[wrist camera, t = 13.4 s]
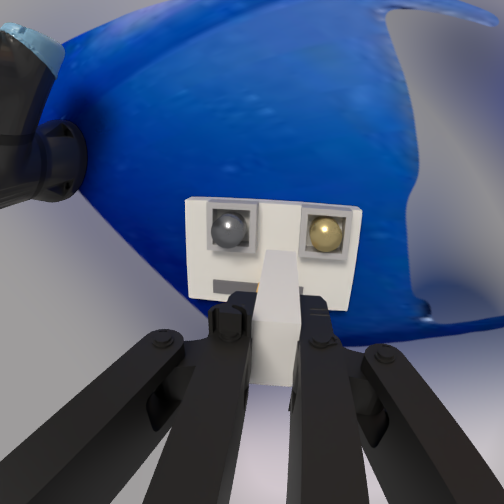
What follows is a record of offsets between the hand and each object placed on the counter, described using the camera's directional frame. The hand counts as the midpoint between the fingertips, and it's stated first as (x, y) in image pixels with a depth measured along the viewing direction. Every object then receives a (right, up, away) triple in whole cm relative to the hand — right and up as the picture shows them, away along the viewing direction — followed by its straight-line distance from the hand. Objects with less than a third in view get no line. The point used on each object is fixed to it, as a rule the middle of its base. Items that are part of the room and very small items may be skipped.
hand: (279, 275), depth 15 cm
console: (+1, +1, +29) cm, 29 cm away
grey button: (-4, +4, +24) cm, 24 cm away
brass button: (+8, +4, +23) cm, 25 cm away
